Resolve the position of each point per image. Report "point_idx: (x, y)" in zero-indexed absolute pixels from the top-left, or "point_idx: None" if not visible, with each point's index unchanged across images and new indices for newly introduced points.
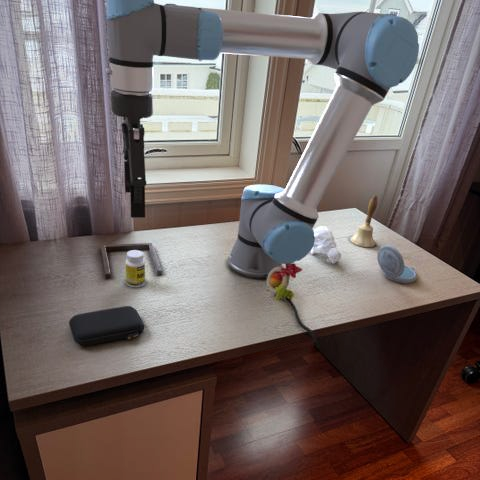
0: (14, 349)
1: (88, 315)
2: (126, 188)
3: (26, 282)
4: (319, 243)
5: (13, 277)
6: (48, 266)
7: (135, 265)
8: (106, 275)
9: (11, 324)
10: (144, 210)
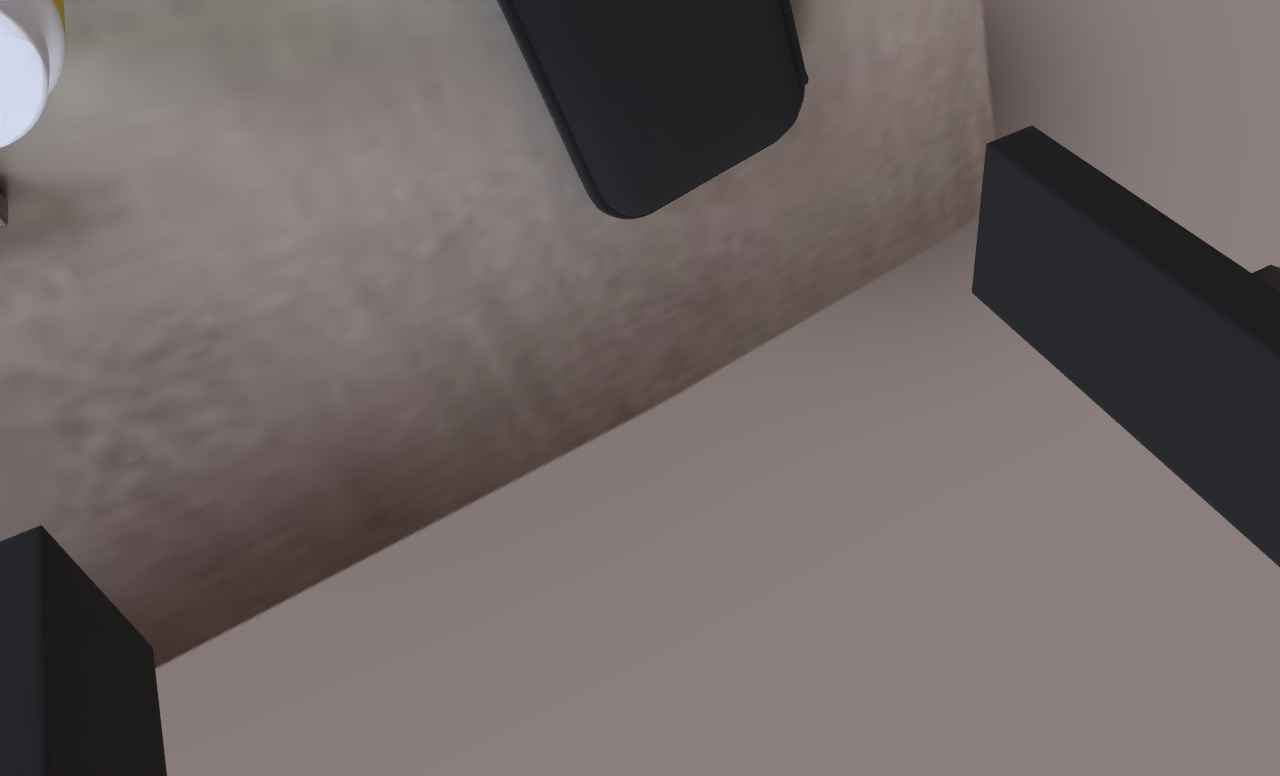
0: (758, 328)
1: (639, 144)
2: (151, 692)
3: (243, 544)
4: None
5: (214, 608)
6: None
7: (51, 15)
8: (5, 210)
9: (602, 416)
10: (1101, 182)
